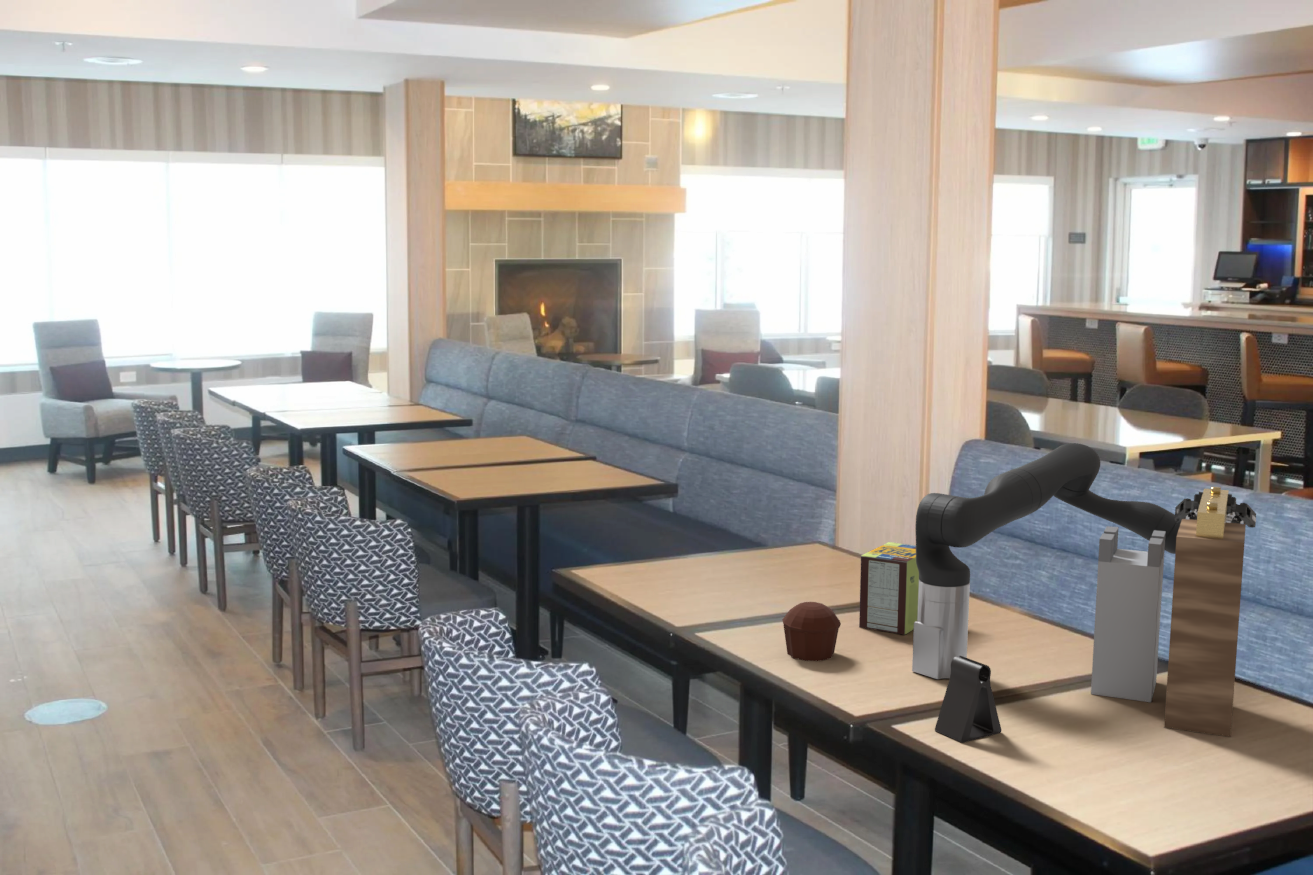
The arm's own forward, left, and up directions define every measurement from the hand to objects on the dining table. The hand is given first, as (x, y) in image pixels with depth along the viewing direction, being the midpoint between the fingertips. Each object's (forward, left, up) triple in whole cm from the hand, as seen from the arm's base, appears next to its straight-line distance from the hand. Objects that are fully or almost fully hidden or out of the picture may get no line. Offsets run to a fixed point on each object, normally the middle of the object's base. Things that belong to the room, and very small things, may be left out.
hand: (1215, 498), depth 224 cm
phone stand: (-47, +14, -36) cm, 61 cm away
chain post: (-7, +11, -35) cm, 38 cm away
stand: (-10, -5, -35) cm, 37 cm away
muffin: (-38, +59, -36) cm, 79 cm away
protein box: (-8, +64, -36) cm, 73 cm away
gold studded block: (-5, -3, -3) cm, 7 cm away
